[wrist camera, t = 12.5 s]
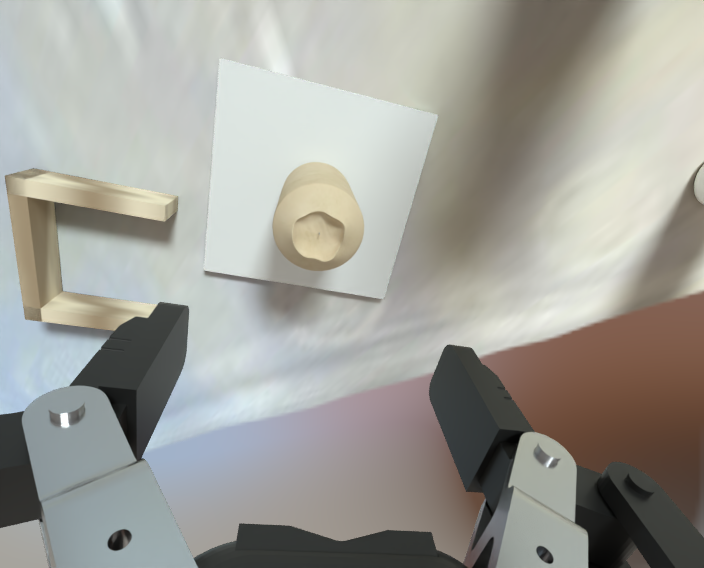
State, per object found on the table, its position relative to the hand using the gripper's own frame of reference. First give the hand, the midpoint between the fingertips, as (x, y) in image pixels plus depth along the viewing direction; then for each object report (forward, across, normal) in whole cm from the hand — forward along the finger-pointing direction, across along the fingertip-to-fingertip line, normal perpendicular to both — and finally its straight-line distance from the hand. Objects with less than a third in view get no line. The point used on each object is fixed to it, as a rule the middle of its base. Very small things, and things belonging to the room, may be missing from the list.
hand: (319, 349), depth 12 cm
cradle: (+22, +15, +8) cm, 28 cm away
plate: (+22, 0, 0) cm, 22 cm away
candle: (+21, 0, 0) cm, 21 cm away
